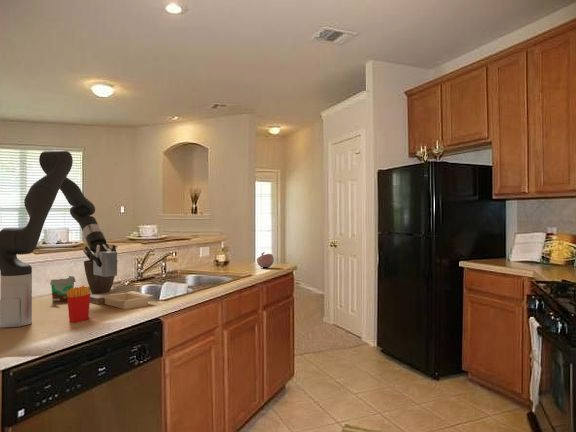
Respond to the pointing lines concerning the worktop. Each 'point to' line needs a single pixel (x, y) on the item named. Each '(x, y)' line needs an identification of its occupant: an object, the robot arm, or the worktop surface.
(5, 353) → the worktop surface
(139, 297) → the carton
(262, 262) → the apple
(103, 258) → the slim box
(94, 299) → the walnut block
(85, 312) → the french fries
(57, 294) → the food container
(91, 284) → the plant pot
